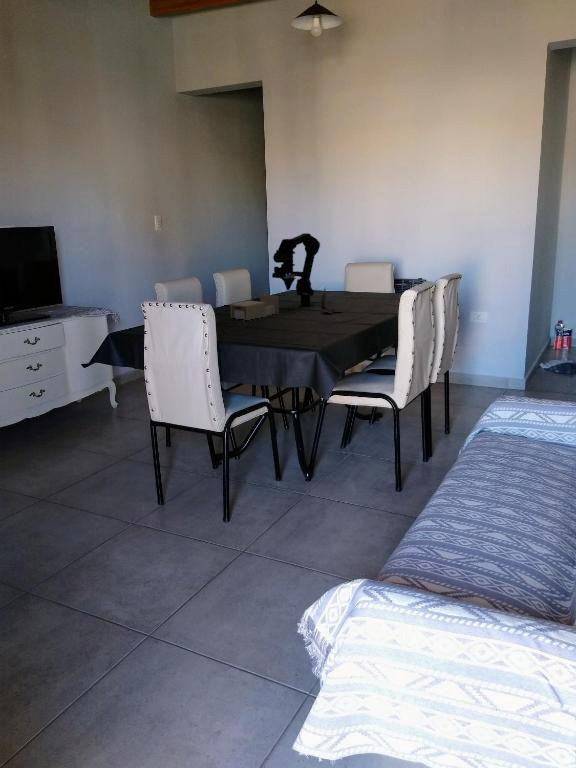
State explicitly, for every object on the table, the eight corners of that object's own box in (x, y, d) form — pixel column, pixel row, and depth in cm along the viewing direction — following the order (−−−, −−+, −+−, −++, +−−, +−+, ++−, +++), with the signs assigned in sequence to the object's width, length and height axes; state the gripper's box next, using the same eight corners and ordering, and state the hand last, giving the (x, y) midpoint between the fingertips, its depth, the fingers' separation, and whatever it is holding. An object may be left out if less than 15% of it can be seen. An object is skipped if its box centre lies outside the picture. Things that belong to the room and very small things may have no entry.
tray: (262, 312, 355) (261, 294, 352) (278, 314, 346) (278, 296, 343) (231, 318, 338) (230, 300, 335) (248, 320, 330) (247, 301, 327)
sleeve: (249, 314, 348) (248, 300, 345) (265, 316, 339) (265, 302, 337) (231, 318, 338) (230, 304, 335) (247, 321, 329) (246, 306, 327)
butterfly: (309, 294, 341) (324, 284, 337) (313, 294, 350) (329, 285, 347) (324, 321, 340) (340, 312, 337) (329, 321, 349) (344, 312, 346)
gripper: (291, 261, 363) (291, 288, 366) (265, 262, 351) (266, 290, 355) (304, 261, 354) (304, 289, 358) (278, 262, 343) (278, 291, 346)
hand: (288, 290), depth 354 cm, fingers closed
